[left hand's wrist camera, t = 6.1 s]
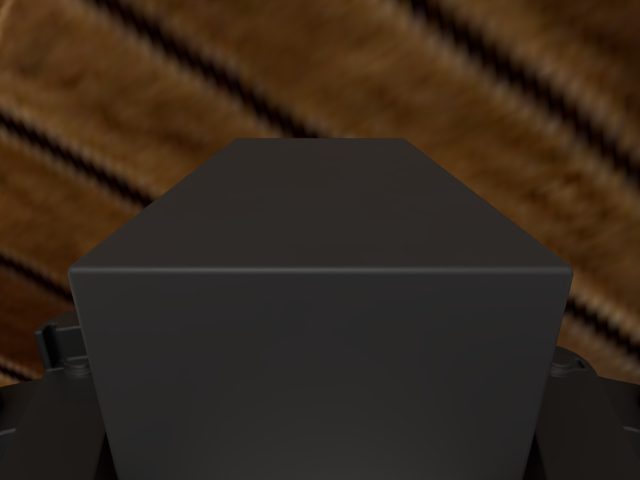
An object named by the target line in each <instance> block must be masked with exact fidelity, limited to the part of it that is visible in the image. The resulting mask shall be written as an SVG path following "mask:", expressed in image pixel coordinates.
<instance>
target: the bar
mask: <svg viewBox="0 0 640 480" xmlns="http://www.w3.org/2000/svg"><path fill="white" fill-rule="evenodd" d="M68 278H69V283H70V287H71V291H72V295H73V299H74V303H75V307H76V311H77V315H78V319H79V323H80V327H81V332H82V336H83V340H84V344H85V348H86V352H87V356H88V360H89V364H90V368H91V372H92V376H93V380H94V385H95V389H96V393H97V397H98V401H99V405H100V409H101V413H102V417H103V421H104V425H105V429H106V433H107V438H108V442H109V446H110V450H111V454H112V458H113V462H114V466H115V470H116V474H117V478H118V480H523V477H524V473H525V469H526V465H527V461H528V457H529V452H530V448H531V444H532V440H533V436H534V432H535V428H536V424H537V420H538V416H539V412H540V408H541V404H542V400H543V396H544V392H545V388H546V384H547V379H548V375H549V371H550V367H551V363H552V359H553V355H554V351H555V347H556V343H557V339H558V335H559V331H560V327H561V323H562V319H563V315H564V311H565V306H566V302H567V298H568V294H569V290H570V286H571V282H572V278H573V269H572V267H571V266H570V265H568V264H567V263H566V262H565V261H563V260H562V259H561V258H559V257H558V256H557V255H555V254H554V253H553V252H551V251H550V250H549V249H548V248H546V247H545V246H544V245H542V244H541V243H540V242H538V241H537V240H536V239H535V238H533V237H532V236H531V235H529V234H528V233H527V232H525V231H524V230H523V229H522V228H520V227H519V226H518V225H516V224H515V223H514V222H512V221H511V220H510V219H508V218H507V217H506V216H505V215H503V214H502V213H501V212H499V211H498V210H497V209H495V208H494V207H493V206H492V205H490V204H489V203H488V202H486V201H485V200H484V199H482V198H481V197H480V196H479V195H477V194H476V193H475V192H473V191H472V190H471V189H469V188H468V187H467V186H465V185H464V184H463V183H462V182H460V181H459V180H458V179H456V178H455V177H454V176H452V175H451V174H450V173H449V172H447V171H446V170H445V169H443V168H442V167H441V166H439V165H438V164H437V163H436V162H434V161H433V160H432V159H430V158H429V157H428V156H426V155H425V154H424V153H423V152H421V151H420V150H419V149H417V148H416V147H415V146H413V145H412V144H411V143H409V142H408V141H407V140H406V139H404V138H237V139H235V140H233V141H232V142H231V143H229V144H228V145H227V146H226V147H224V148H223V149H222V150H220V151H219V152H218V153H216V154H215V155H214V156H213V157H211V158H210V159H209V160H207V161H206V162H205V163H203V164H202V165H201V166H200V167H198V168H197V169H196V170H194V171H193V172H192V173H191V174H189V175H188V176H187V177H185V178H184V179H183V180H181V181H180V182H179V183H178V184H176V185H175V186H174V187H172V188H171V189H170V190H168V191H167V192H166V193H165V194H163V195H162V196H161V197H159V198H158V199H157V200H155V201H154V202H153V203H152V204H150V205H149V206H148V207H146V208H145V209H144V210H142V211H141V212H140V213H139V214H137V215H136V216H135V217H133V218H132V219H131V220H129V221H128V222H127V223H126V224H124V225H123V226H122V227H120V228H119V229H118V230H116V231H115V232H114V233H113V234H111V235H110V236H109V237H107V238H106V239H105V240H103V241H102V242H101V243H100V244H98V245H97V246H96V247H94V248H93V249H92V250H90V251H89V252H88V253H87V254H85V255H84V256H83V257H81V258H80V259H79V260H77V261H76V262H75V263H74V264H72V265H71V266H70V267H69V269H68Z"/></svg>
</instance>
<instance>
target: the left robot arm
mask: <svg viewBox="0 0 640 480" xmlns="http://www.w3.org/2000/svg"><path fill="white" fill-rule="evenodd" d="M34 335H35V338H36V342H37V345H38V348H39V352H40V355H41V359H42V362H43V365H44V369H45V372H44V374H43V376H42V378H41V379H37V380H33V381H28V382H23V383H18V384H13V385H8V386H3V387H0V480H118V478H117V474H116V470H115V466H114V462H113V458H112V454H111V450H110V446H109V442H108V438H107V433H106V429H105V425H104V421H103V417H102V413H101V409H100V405H99V401H98V397H97V393H96V389H95V385H94V380H93V376H92V372H91V368H90V364H89V360H88V356H87V352H86V348H85V344H84V340H83V336H82V332H81V327H80V323H79V319H78V315H77V311H76V310H75V311H70V312H67V313H64V314H61V315H59V316H56V317H54V318H52V319H50V320H49V321H47V322H45V323H43V324H42V325H41V326H40V327H39V328H38V329H37V330H36V331H35V332H34ZM523 480H640V385H637V384H632V383H627V382H622V381H617V380H612V379H607V378H603V377H599V376H597V374H596V372H595V370H594V369H593V367H592V366H591V365H590V364H589V363H588V361H586V360H585V359H583V358H582V357H580V356H579V355H578V354H576V353H574V352H571V351H569V350H567V349H565V348H562V347H558V346H556V347H555V351H554V355H553V359H552V363H551V367H550V371H549V375H548V379H547V384H546V388H545V392H544V396H543V400H542V404H541V408H540V412H539V416H538V420H537V424H536V428H535V432H534V436H533V440H532V444H531V448H530V452H529V457H528V461H527V465H526V469H525V473H524V477H523Z"/></svg>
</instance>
